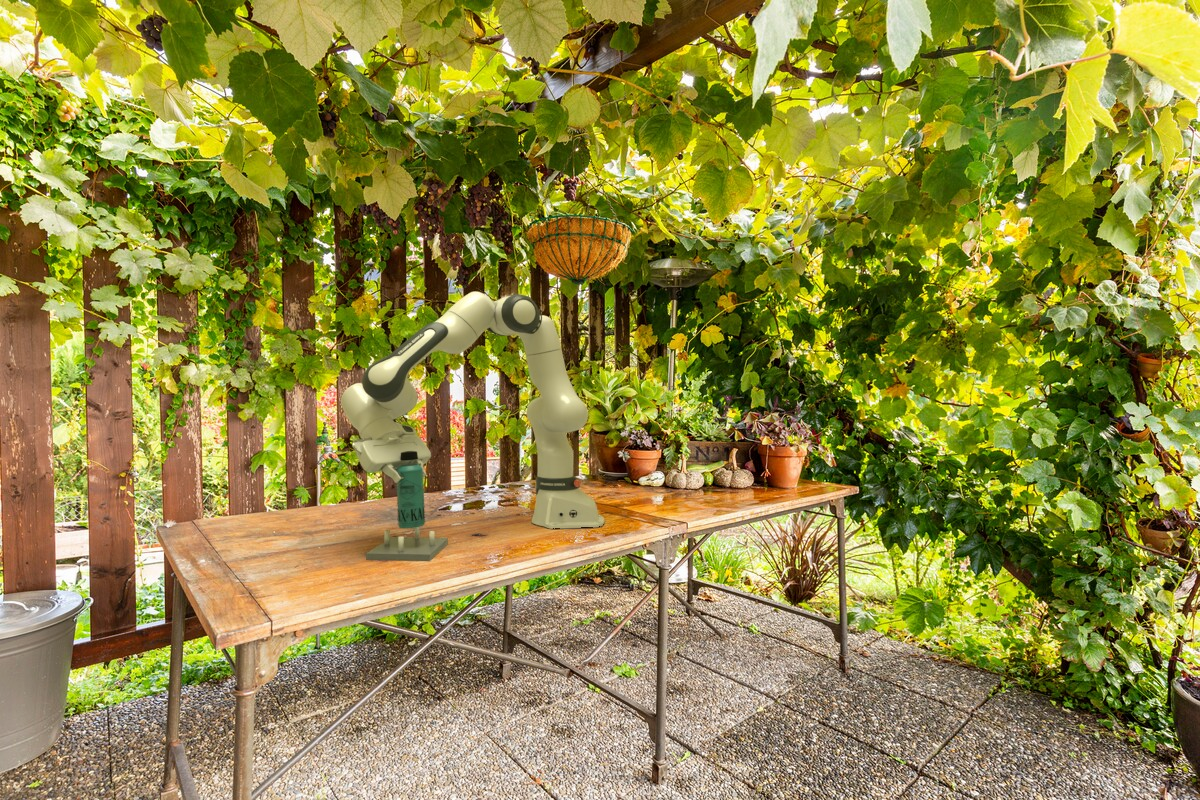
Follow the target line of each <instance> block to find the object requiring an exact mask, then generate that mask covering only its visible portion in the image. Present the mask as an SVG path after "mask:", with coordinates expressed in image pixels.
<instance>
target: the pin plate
mask: <svg viewBox="0 0 1200 800" xmlns="http://www.w3.org/2000/svg"><path fill="white" fill-rule="evenodd" d="M420 527H421V526H420ZM420 527H416V528H414V537H413V536H402V535H401V536H391V534H390V529H389V530H387V529H386V530H384V531H383V532H384V536H383V537H384V540H383V542H381V543H380V544H378V545H376V546H375V547H373V548H372V549H371V550H370V551H367V552H366V553H365V559H366V561H409V562H411V561H412V562H413V561H415V562H416V561H417V562H430V561H432V559H433V558H434V557H436V556H437V555H438V554H439V553H440V552H441V551H442V550H444V548H445V547H446V546H447V545H448V544H449V537H435V530H430V531H429V533H428V534H429V536H428V537H421V536H420V531H421V530H420ZM439 551H440V552H439ZM438 552H439V553H438ZM437 553H438V554H437ZM436 554H437V555H436Z"/></svg>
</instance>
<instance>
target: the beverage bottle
mask: <svg viewBox="0 0 1200 800" xmlns="http://www.w3.org/2000/svg"><path fill="white" fill-rule="evenodd" d="M400 459H401V461H405V460H416V459H418V455H417V451H406V452H401V458H400ZM423 469H424V467H423V468H422V467H421V466H419V465H418V464H411V465H402V466H400V467H399V468H398V469H395V471H396V472H398V473H401V474H402V476H403V477H404V479H403V480H402V481H401V482H398V483H396V496H397V497H396V499H397V500H396V502H397V503H396V506H397V508H396V510H397V525H398V527H399V529H405V530H406V529H415V528H416V527H423V526H425V524H426V511H425V490H424V478H423Z"/></svg>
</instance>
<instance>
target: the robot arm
mask: <svg viewBox="0 0 1200 800" xmlns="http://www.w3.org/2000/svg"><path fill="white" fill-rule="evenodd" d="M485 331H488V332H490V333H492V334H493V335H496V336H501V337H505V336H515V335H517V336H518V337H519V338H520V340H521V341H522V344H523V347H524V353H525V359H526V364H527V368H528V374H529V378H530V381H531V382H532V384H533V385H534V386H535V387H536V389H537V390H538V392H539V395H540V396H538V397H536V398H534V399H532V400H531V401H530V402H529V403H528V405H527V408H526V418H527V421H528V422H529V424H530V426H531V427H532V431H533V435H534V440H535V443H536V449H537V450H536V452H537V475H536V476H535V486H534V487H535V489H534V490H535V494H536V498H535V506H534V511H533V515H532V519H531V523H532V524H534V525H536V526H541V527H545V528H547V529H551V530H555V528H560V529H582V528H581V527H593V528H600V527H602V526H604V525H605V517H604V516H603V515H601V514H599V513H598V507H597V503H596V501H595V500H594V499H593V498H592V497H591V496H590V495H588V494H587V493H586V492H585V491H583V490H582V489H581V488H580V486H581V480H580V478H579V477H577V476H575V475H574V450H573V447H572V446H571V445H570V443H569V441H568V437H567V433H572V432H576V431H578V430H581V429H582V428H584V426H585V425H586V424H587V421H588V419H589V410H588V407H587V406H586V404H585V402H584V401H582V399H580V397H579V395H578V394H577V392H576V390H575V389H574V387H573V384H572V382H571V380H570V378H569V375H568V371H567V370H566V363H565V360H564V355H563V350H562V345H561V344H562V343H561V341H560V337H559V334H558V331H557V328H556V326H555V323H554V321H553V320H552V318H551V317H549V316H547V315H542V312H541V311H540V310H539V307H538V305H537V304H536V302H535V301H534V300H533V299H532V298H531V297H529V296H527V295H524V294H520V293H519V294H517V293H516V294H513V295H508V296H504V297H501V298H499V299H497V300H495V301H494V300H493V299H491V298H490V297H489V296H488V295H487V294H485V293H483V292H481V291H471V292H469V293H468V294H466V295H464V296H463V297H461V298H460V299H459V300H458V301H456V302H455V303H454V304H453V305H452V306H451V307H449V308H448V310H446V312H445V313H444V314H443V315H441V317H439V318H438V319H437V320H436V321H433V322H430V323H427V324H426V325H425V326H423V327H422V328H420V329H419V330H418V331H417V332H415V333H414V334H413V335H412V336H410V337H409V338H408V339H407V340H405V342H403V343H402V344H400V345H399V346H398V347H397V348H396V349H394V350H393V351H392V352H391V353H389V354H388V355H387V356H384V357H383V358H381V359H379V360H376V361H375V362H372V364H370V365H369V366H368V367H367V368H366V369H365V371H364V373H363V375H362V380H361V382H357V383H354V384H352V385H350V386H349V387H348V388H346V389H345V390H344V392H343V393H342V395H341V399H340V405H341V407H342V410H343V412H344V414H345V416H346V417H347V420H348V421H349V422H350V424H351V426H353V428H355V429H356V430H357V433H358V435H359V438H356V439H354V441H353V442H352V444H351V445H352V448H353V449H354V451H355V455H356V457H357V460H358V462H359V464H360V465H361V468H362V469H363V470H364V471H365V472H366V473H369V474H370V473H378V472H383V473H384V474H385V475H386V476H388V477H389V478H390V479H392V480H393V481H394V483H395V484H397V483H398V482H401V481H402V480H403V479H404V477H403V476H402V474H401V473H398V472H396V470H397V469H398V468H399V467H400V466H402V465H411V464H418V465H419V466H421V467H422V468H423V479H424V478H425V477H426V475H427V472H426V471H425V469H424V465H425V464H427V463H428V462H429V460H430V459H431V458H432V453H431V450H430V449H429V447H428V446H427V445H426V443H425V442H424V441H423V440H422V438H421V437H419V436H418V435H417V434H416V433H417V431H416V429H415V428H414V427H412V426H411V425H405V424H402V423H399V422H398V421H394V420H396V419H399V418H400V417H402V416H405V415H406V414H408V413H409V412H411V411H412V410H414V408H415V407H416V405H417V403H418V400H419V394H418V391H417V389H416V388H415V386H414V385H413V384H412V382H411V381H410V380H409V378H408V377H409V375H410V372H411V371H412V370H413V369H414V368H416V367H417V366H418V365H419V364H420V363H421V362H422V361H424V359H425V358H427V357H429V355H430V354H432V353H434V352H437V351H442V352H443V353H445V354H451V355H457V354H458V355H459V354H462V353H463V352H465V351H466V350H468V349H469V348H470V347H471V346H473V344H474V343H475V342H476V341H477V340H478V339H479V337H480V336H481V335H482V334H483V333H484V332H485ZM406 451H417V455H418V459H416V460H405V461H401V459H400V458H401V452H406ZM603 524H604V525H603ZM599 526H600V527H599ZM553 528H554V529H553Z"/></svg>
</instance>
